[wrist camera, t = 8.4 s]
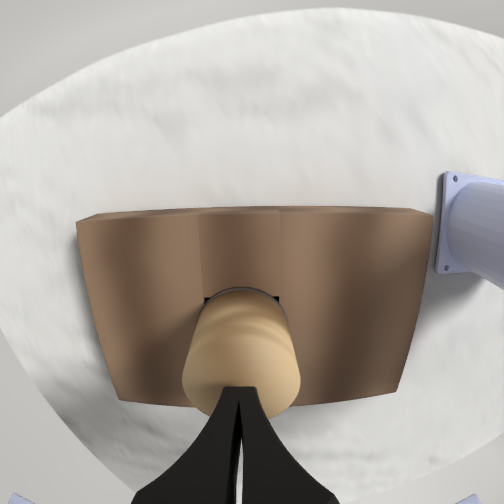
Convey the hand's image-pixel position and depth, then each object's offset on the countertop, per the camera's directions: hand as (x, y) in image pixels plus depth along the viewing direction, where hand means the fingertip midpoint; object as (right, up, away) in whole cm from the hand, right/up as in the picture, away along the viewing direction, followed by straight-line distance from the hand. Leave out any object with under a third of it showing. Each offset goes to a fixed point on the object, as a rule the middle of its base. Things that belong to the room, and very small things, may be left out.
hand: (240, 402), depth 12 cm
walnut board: (+1, +3, +9) cm, 9 cm away
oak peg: (0, +3, +9) cm, 9 cm away
